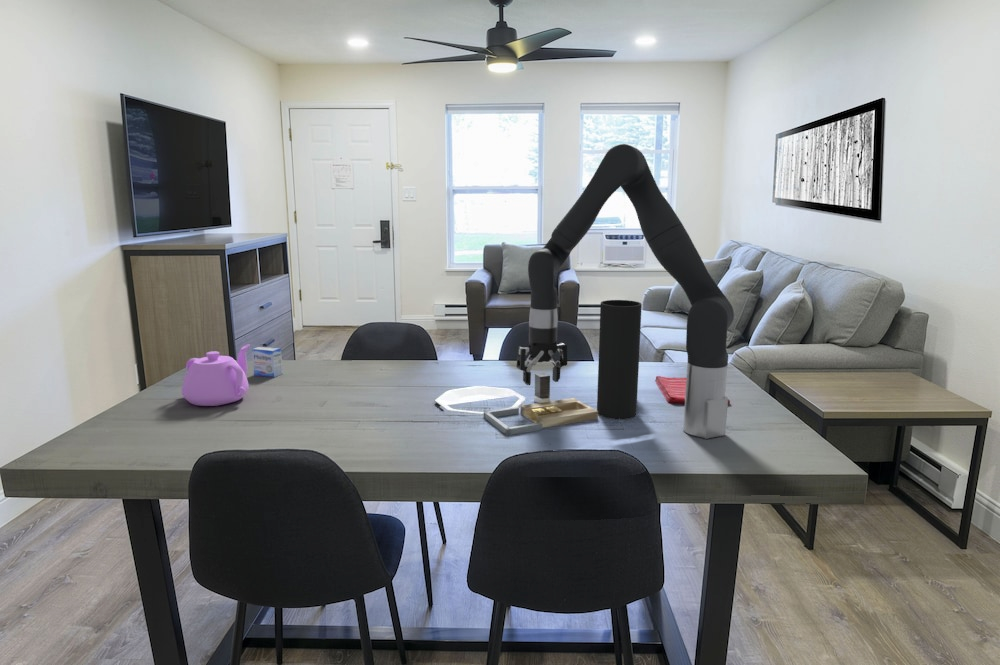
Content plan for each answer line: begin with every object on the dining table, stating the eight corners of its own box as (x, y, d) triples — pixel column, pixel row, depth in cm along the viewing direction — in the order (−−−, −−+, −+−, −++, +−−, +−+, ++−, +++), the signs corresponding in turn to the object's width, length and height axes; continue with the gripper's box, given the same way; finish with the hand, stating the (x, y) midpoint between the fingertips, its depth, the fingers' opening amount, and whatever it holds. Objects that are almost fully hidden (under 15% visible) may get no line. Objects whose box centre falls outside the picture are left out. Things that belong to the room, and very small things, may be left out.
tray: (542, 433, 160) (542, 423, 159) (506, 439, 156) (506, 429, 156) (517, 415, 172) (517, 406, 172) (483, 420, 169) (483, 411, 168)
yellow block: (562, 418, 168) (562, 410, 167) (552, 419, 166) (552, 412, 166) (554, 413, 171) (555, 406, 171) (544, 415, 170) (544, 407, 170)
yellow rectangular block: (548, 420, 166) (548, 412, 166) (538, 421, 165) (538, 414, 164) (541, 415, 170) (541, 408, 169) (530, 417, 168) (531, 409, 168)
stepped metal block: (550, 408, 178) (551, 376, 177) (540, 409, 177) (541, 377, 175) (542, 403, 182) (543, 372, 181) (533, 404, 181) (533, 373, 179)
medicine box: (253, 375, 210) (251, 349, 208) (262, 372, 214) (260, 346, 212) (274, 377, 207) (272, 350, 205) (283, 374, 211) (281, 347, 210)
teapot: (280, 392, 192) (277, 346, 189) (221, 414, 173) (216, 363, 170) (225, 383, 201) (221, 339, 198) (163, 403, 182) (157, 354, 179)
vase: (623, 408, 179) (627, 299, 172) (643, 420, 169) (649, 305, 163) (589, 412, 175) (593, 301, 169) (609, 425, 166) (613, 307, 159)
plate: (425, 398, 188) (425, 393, 188) (498, 387, 199) (498, 382, 198) (458, 423, 168) (458, 418, 167) (538, 410, 178) (538, 404, 178)
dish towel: (668, 406, 182) (669, 397, 181) (653, 382, 205) (653, 374, 205) (731, 407, 181) (732, 398, 181) (709, 383, 204) (709, 374, 204)
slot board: (597, 422, 167) (598, 411, 167) (542, 431, 161) (542, 419, 160) (573, 408, 178) (573, 397, 178) (520, 416, 172) (520, 405, 171)
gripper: (525, 329, 169) (524, 389, 172) (573, 325, 175) (571, 383, 178) (513, 323, 176) (512, 382, 179) (559, 319, 181) (557, 376, 185)
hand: (541, 382), depth 179 cm, fingers open, 8 cm apart
